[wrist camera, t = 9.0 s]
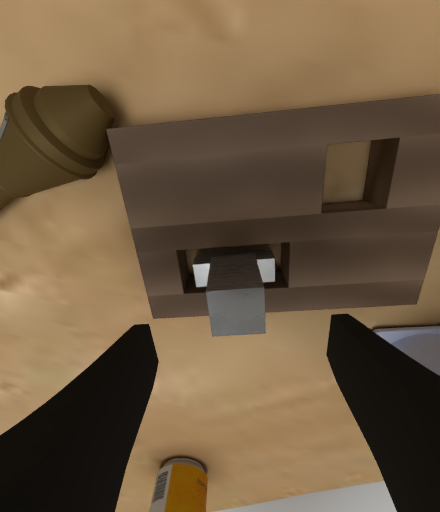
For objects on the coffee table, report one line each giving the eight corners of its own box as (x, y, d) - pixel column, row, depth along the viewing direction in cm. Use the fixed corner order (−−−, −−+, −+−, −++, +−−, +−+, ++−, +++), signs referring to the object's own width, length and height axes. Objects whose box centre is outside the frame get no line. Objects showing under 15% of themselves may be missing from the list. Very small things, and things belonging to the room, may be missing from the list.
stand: (392, 284, 18) (416, 304, 16) (161, 298, 19) (153, 318, 17) (435, 101, 13) (479, 89, 11) (125, 132, 14) (105, 129, 12)
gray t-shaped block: (267, 267, 18) (290, 331, 11) (201, 272, 18) (188, 337, 12) (266, 234, 17) (291, 285, 10) (197, 240, 17) (179, 293, 11)
